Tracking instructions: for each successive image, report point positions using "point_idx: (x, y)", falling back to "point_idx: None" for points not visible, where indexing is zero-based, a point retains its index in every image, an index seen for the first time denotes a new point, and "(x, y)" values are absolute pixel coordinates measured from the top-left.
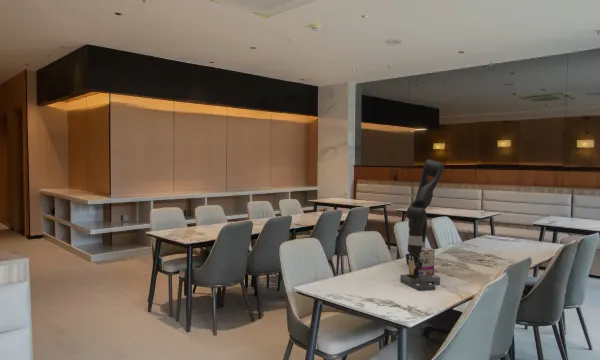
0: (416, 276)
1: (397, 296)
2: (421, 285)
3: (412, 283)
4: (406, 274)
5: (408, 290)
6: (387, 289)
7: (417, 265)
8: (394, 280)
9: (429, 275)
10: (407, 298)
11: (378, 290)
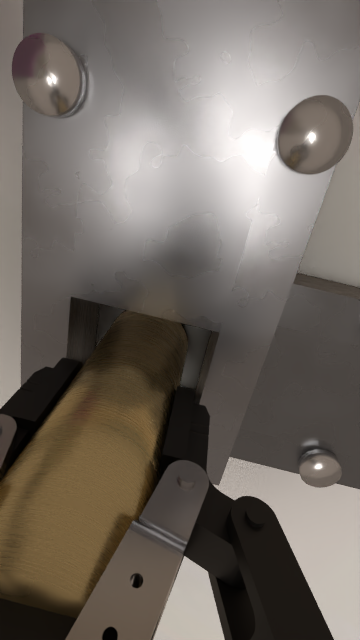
0: (177, 378)
1: (336, 626)
2: (341, 434)
3: (239, 450)
4: (28, 377)
5: (287, 506)
6: (192, 578)
7: (250, 632)
8: (7, 397)
9: (185, 89)
10: None
11: (184, 617)
